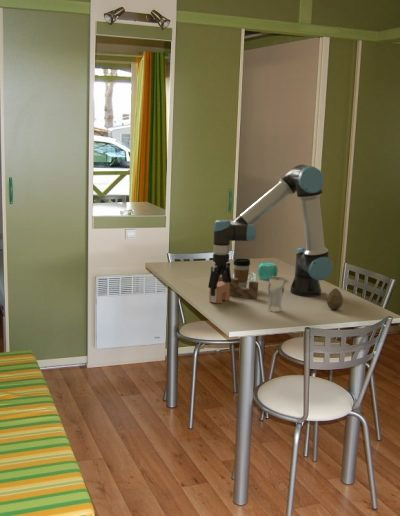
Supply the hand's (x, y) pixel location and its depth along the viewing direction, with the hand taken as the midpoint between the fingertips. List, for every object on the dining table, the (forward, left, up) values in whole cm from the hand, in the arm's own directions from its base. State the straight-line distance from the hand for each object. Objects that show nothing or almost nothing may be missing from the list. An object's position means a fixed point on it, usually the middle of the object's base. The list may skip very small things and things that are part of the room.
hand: (219, 299), depth 323 cm
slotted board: (-1, -15, -1) cm, 15 cm away
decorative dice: (+3, -58, -1) cm, 58 cm away
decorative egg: (-49, -21, -1) cm, 53 cm away
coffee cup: (+4, -29, -1) cm, 29 cm away
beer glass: (-28, -2, -1) cm, 28 cm away
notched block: (0, 0, 0) cm, 0 cm away
